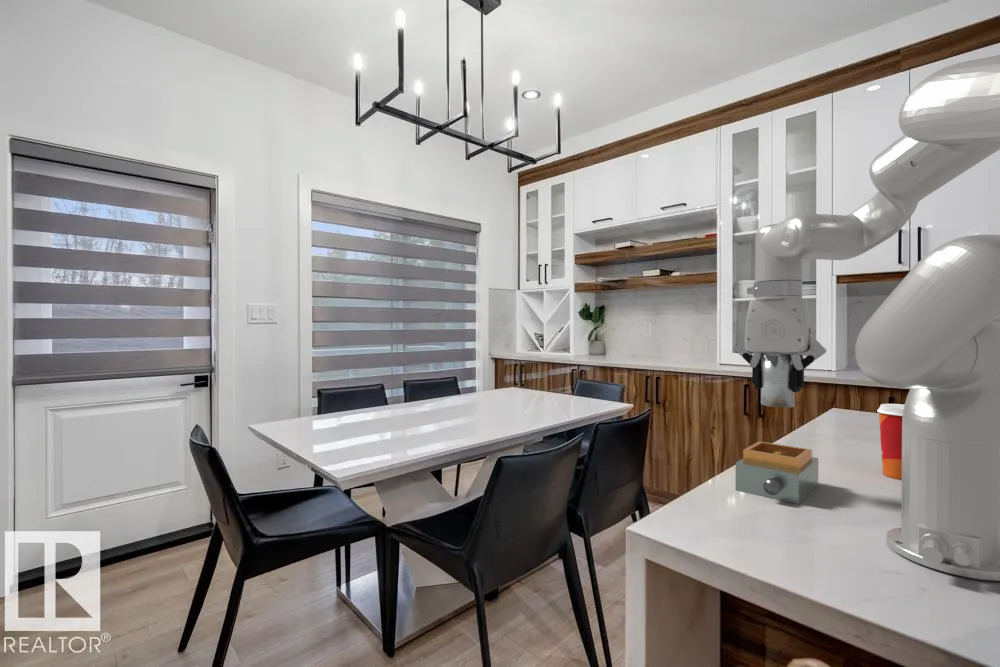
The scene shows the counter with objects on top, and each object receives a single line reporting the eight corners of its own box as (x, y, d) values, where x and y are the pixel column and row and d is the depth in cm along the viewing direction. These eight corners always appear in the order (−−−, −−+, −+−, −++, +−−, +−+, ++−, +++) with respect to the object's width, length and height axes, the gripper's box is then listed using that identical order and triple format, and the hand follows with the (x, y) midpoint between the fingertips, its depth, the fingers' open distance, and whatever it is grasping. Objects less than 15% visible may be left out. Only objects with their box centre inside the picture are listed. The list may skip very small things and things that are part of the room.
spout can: (788, 409, 83) (788, 348, 83) (754, 405, 87) (755, 347, 86) (798, 404, 87) (798, 346, 87) (765, 401, 91) (766, 345, 91)
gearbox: (794, 508, 77) (794, 465, 77) (730, 493, 84) (730, 454, 84) (818, 484, 89) (818, 447, 89) (760, 472, 96) (760, 438, 96)
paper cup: (907, 471, 97) (907, 403, 97) (938, 483, 89) (938, 409, 89) (866, 470, 97) (867, 402, 97) (893, 482, 90) (894, 409, 90)
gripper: (722, 293, 90) (721, 387, 91) (829, 288, 78) (828, 397, 79) (736, 295, 96) (735, 384, 96) (838, 290, 84) (837, 392, 84)
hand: (777, 388), depth 87 cm, fingers closed on spout can, 5 cm apart
